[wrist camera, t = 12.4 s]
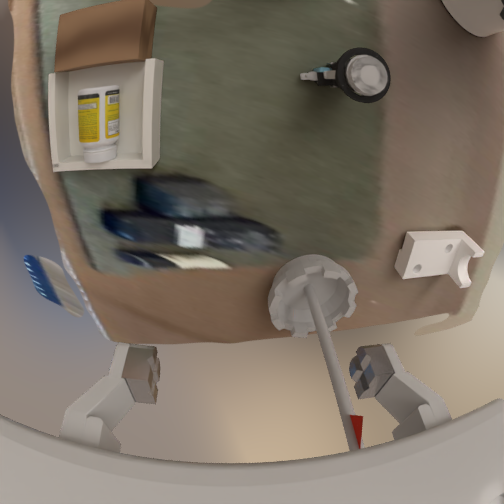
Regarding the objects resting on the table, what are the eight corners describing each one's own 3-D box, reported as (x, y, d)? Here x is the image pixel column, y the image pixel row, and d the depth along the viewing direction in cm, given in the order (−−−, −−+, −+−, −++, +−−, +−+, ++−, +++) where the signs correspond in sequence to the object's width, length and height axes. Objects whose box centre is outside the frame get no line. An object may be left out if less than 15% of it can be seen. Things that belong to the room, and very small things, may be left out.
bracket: (459, 227, 41) (484, 251, 35) (447, 261, 45) (469, 286, 39) (403, 228, 41) (428, 256, 34) (393, 265, 44) (413, 295, 38)
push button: (301, 97, 30) (329, 104, 21) (296, 54, 27) (323, 44, 18) (354, 95, 29) (397, 104, 21) (351, 54, 27) (393, 49, 18)
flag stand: (344, 306, 48) (404, 469, 23) (269, 319, 48) (297, 498, 23) (349, 242, 41) (449, 433, 16) (260, 255, 41) (297, 482, 16)
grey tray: (65, 73, 24) (48, 74, 21) (163, 60, 26) (155, 58, 23) (68, 161, 31) (53, 171, 28) (159, 158, 32) (151, 168, 29)
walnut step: (79, 20, 21) (60, 15, 17) (157, 7, 22) (145, -3, 18) (75, 71, 25) (54, 72, 20) (151, 61, 26) (138, 58, 22)
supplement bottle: (75, 90, 24) (77, 159, 28) (81, 89, 21) (83, 167, 26) (114, 85, 27) (114, 151, 31) (125, 84, 24) (125, 159, 28)
